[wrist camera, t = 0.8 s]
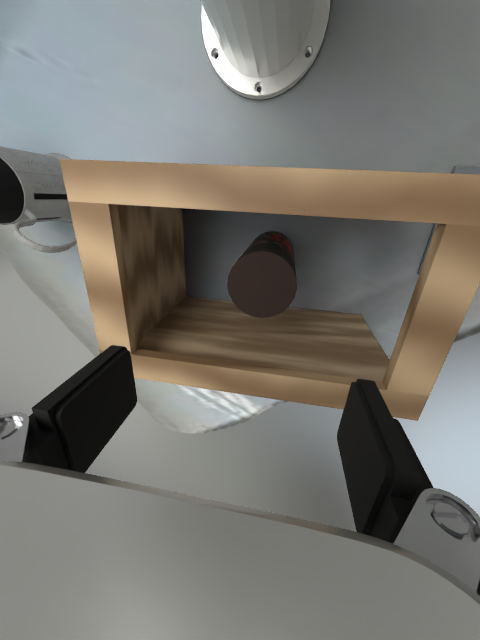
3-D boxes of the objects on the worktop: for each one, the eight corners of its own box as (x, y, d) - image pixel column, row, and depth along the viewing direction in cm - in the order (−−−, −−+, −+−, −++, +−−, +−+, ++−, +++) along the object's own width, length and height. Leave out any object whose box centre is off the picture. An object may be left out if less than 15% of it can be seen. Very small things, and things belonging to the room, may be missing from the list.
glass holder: (45, 137, 34) (-110, 96, 21) (133, 212, 37) (44, 219, 23) (26, 193, 38) (-117, 190, 25) (107, 259, 40) (16, 289, 27)
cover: (173, 179, 34) (59, 159, 17) (393, 189, 30) (528, 176, 13) (180, 301, 41) (104, 373, 24) (358, 321, 38) (417, 420, 21)
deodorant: (291, 275, 37) (294, 319, 23) (249, 274, 38) (228, 316, 24) (294, 231, 34) (299, 251, 21) (249, 231, 35) (226, 250, 22)
